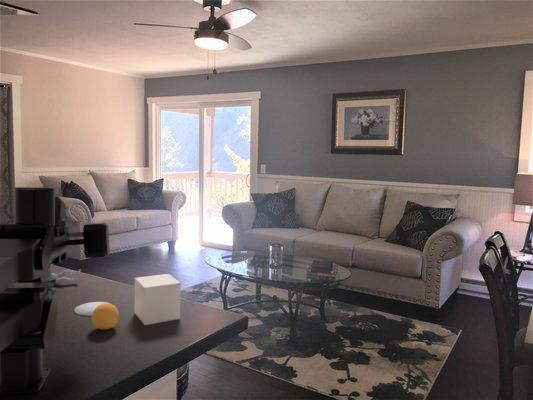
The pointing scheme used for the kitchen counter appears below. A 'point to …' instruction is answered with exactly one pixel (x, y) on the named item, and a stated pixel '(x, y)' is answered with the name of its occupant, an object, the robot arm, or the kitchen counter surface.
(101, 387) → the kitchen counter surface
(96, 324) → the ball
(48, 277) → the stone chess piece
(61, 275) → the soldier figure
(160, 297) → the cream cube
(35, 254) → the robot arm
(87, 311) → the white round disc
